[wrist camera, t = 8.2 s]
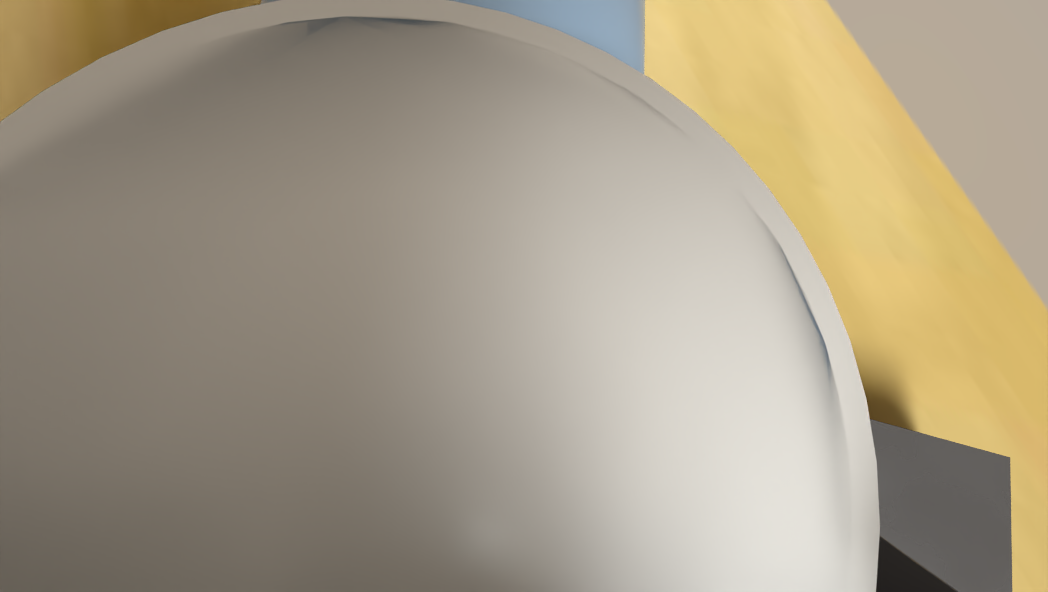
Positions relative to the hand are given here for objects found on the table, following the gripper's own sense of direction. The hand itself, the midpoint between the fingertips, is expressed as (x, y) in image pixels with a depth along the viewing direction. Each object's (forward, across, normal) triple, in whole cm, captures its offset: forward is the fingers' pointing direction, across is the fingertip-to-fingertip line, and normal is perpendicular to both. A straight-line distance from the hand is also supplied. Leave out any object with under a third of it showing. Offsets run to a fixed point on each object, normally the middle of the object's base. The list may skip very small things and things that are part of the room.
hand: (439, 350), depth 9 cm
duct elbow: (+5, 0, +4) cm, 7 cm away
